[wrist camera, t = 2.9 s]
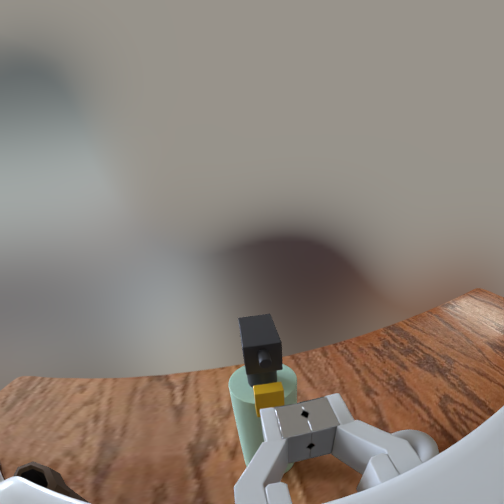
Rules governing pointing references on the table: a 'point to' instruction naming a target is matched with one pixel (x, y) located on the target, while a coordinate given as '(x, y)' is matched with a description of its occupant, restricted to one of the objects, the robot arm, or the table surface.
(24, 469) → the beer bottle
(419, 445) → the donut
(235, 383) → the spray bottle
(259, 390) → the block
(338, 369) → the table surface
